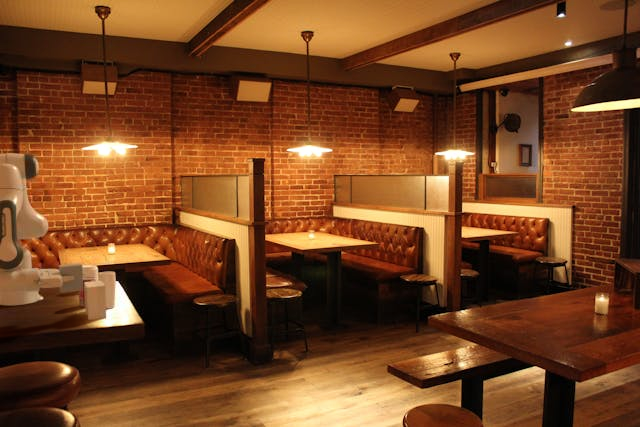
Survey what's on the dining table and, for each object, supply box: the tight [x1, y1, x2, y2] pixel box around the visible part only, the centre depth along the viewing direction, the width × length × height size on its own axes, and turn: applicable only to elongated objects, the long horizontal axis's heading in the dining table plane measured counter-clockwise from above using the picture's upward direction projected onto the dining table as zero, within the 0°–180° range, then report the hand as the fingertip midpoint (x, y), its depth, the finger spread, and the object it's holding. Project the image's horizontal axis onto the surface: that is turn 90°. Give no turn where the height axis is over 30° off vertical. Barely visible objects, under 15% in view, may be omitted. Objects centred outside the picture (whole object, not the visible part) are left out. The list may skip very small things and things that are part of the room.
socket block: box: [84, 280, 107, 321], centre depth 221 cm, size 11×6×13 cm, turn 29°
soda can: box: [78, 277, 95, 308], centre depth 237 cm, size 7×7×12 cm
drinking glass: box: [98, 271, 117, 310], centre depth 233 cm, size 7×7×15 cm
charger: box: [58, 262, 85, 293], centre depth 216 cm, size 4×9×10 cm, turn 119°
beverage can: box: [82, 264, 99, 281], centre depth 266 cm, size 8×8×12 cm
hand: (73, 276), depth 216 cm, fingers closed on charger, 4 cm apart
